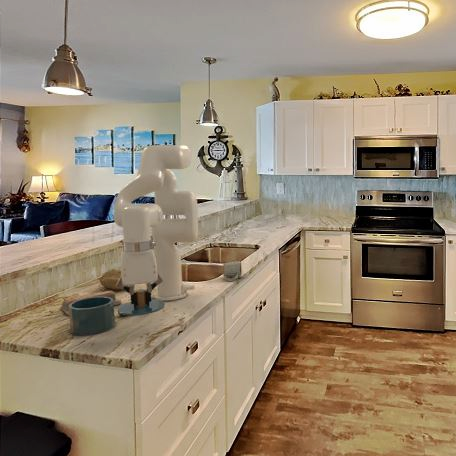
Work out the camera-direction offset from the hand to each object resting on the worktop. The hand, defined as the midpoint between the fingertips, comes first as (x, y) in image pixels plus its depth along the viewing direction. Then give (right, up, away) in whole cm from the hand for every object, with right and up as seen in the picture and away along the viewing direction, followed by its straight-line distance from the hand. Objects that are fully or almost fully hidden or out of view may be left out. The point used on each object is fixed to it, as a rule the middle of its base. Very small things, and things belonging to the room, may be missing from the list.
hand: (141, 304), depth 128 cm
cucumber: (-12, -7, +19) cm, 23 cm away
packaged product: (-30, -6, +26) cm, 40 cm away
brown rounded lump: (-34, -2, +52) cm, 62 cm away
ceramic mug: (+14, 0, +66) cm, 68 cm away
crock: (-18, -9, +7) cm, 21 cm away
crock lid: (0, -1, 0) cm, 1 cm away
